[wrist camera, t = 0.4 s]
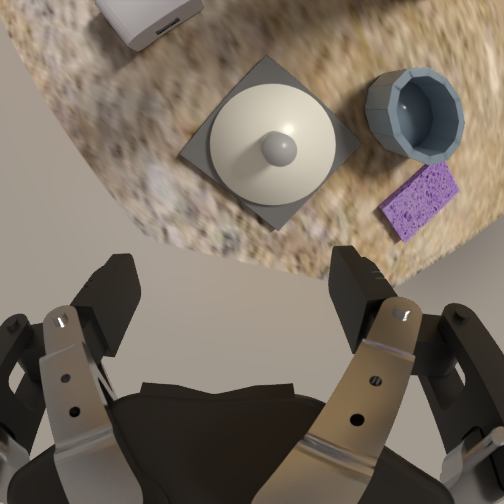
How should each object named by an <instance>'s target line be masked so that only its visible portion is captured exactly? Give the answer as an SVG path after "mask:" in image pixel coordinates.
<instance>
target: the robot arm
mask: <svg viewBox="0 0 504 504" xmlns="http://www.w3.org/2000/svg"><path fill="white" fill-rule="evenodd" d="M328 286H329V293H330V297H331V299H332V301H333V304H334V306H335V309H336V312H337V314H338V317H339V319H340V322H341V324H342V327H343V329H344V332H345V335H346V337H347V340H348V343H349V345H350V348H351V351H352V353H353V354H355V355H354V357H353V359H352V360H351V362H350V364H349V366H348V368H347V370H346V371H345V373H344V375H343V377H342V378H341V380H340V382H339V383H338V385H337V387H336V389H335V390H334V392H333V393H332V395H331V397H330V398H329V400H328V402H327V403H324V402H322V401H320V400H317V399H314V398H312V397H308V396H303V395H298V394H294V387H293V383H291V384H276V385H257V386H251V387H247V388H242V389H238V390H234V391H229V392H224V393H220V394H210V393H206V392H202V391H198V390H194V389H190V388H186V387H183V386H179V385H171V384H157V383H145V382H143V383H142V387H141V390H140V393H136V394H131V395H127V396H124V397H121V398H119V399H118V398H117V396H116V394H115V392H114V390H113V387H112V385H111V382H110V380H109V378H108V375H107V373H106V370H105V368H104V365H103V364H102V362H101V359H102V357H103V356H108V357H115V355H116V353H117V350H118V348H119V346H120V343H121V341H122V339H123V337H124V334H125V332H126V330H127V328H128V325H129V323H130V321H131V319H132V316H133V314H134V312H135V310H136V308H137V305H138V303H139V301H140V297H141V287H140V283H139V279H138V275H137V271H136V268H135V263H134V259H133V257H132V255H131V254H129V253H127V254H113V255H112V256H111V257H110V258H109V260H108V261H107V262H106V263H105V265H104V266H102V267H101V268H99V269H98V270H97V271H95V272H94V273H93V274H92V276H91V277H90V278H89V280H88V281H87V282H86V283H85V285H84V288H82V289H81V290H80V292H79V293H78V294H77V296H76V297H75V298H74V300H73V301H72V303H71V304H70V305H69V306H68V305H66V306H60V307H57V308H55V309H54V310H52V311H50V312H49V313H48V314H47V315H46V317H45V318H44V321H43V323H39V324H33V325H30V323H29V321H28V319H27V317H26V316H25V315H24V314H16V315H13V316H11V317H9V318H8V319H6V320H5V321H4V322H3V324H2V325H1V326H0V502H2V503H4V504H497V503H499V502H501V501H502V500H504V354H503V353H502V351H501V350H500V348H499V347H498V345H497V344H496V342H495V341H494V339H493V338H492V336H491V335H490V334H489V332H488V331H487V329H486V328H485V326H484V325H483V324H482V322H481V321H480V320H479V318H478V317H477V315H476V314H475V313H474V312H473V311H472V310H471V309H469V308H468V307H466V306H464V305H462V304H457V303H452V304H448V305H447V306H445V308H444V310H443V313H442V315H441V316H439V315H429V314H422V311H421V309H420V307H419V306H418V305H417V304H416V303H415V302H413V301H411V300H409V299H407V298H403V297H398V296H397V294H396V293H395V291H394V290H393V288H392V287H391V285H390V284H389V283H388V281H387V280H386V279H385V278H384V276H383V274H382V273H381V272H380V270H379V269H378V267H377V266H376V265H375V263H373V262H372V261H370V260H369V259H367V258H366V257H361V256H360V255H359V254H358V252H357V251H356V249H355V248H354V247H353V246H352V245H350V246H334V247H333V249H332V256H331V265H330V273H329V282H328ZM16 362H18V363H19V365H20V366H21V368H22V369H23V370H24V372H25V374H24V376H23V378H22V380H21V382H20V384H19V386H18V388H17V390H16V392H15V394H14V393H13V392H12V390H11V389H10V387H9V376H10V374H11V372H12V370H13V368H14V366H15V364H16ZM457 362H459V365H460V366H461V368H462V370H463V372H464V374H465V386H464V384H463V383H462V380H461V379H460V376H459V374H458V372H457V370H456V369H455V365H456V363H457ZM410 375H418V377H419V380H420V382H421V385H422V387H423V390H424V392H425V395H426V397H427V400H428V402H429V405H430V408H431V410H432V413H433V415H434V418H435V421H436V424H437V427H438V430H439V432H440V435H441V438H442V441H443V444H444V448H445V451H446V454H447V456H446V457H445V459H444V461H443V464H442V473H441V475H440V480H441V482H442V483H441V482H440V481H438V480H437V479H435V478H433V477H432V476H430V475H428V474H427V473H425V472H424V471H422V470H421V469H419V468H417V467H416V466H414V465H413V464H411V463H410V462H408V461H407V460H405V459H404V458H402V457H401V456H399V455H398V454H396V453H395V452H394V451H392V450H391V449H389V448H388V447H386V446H385V443H386V440H387V438H388V435H389V433H390V431H391V428H392V426H393V423H394V421H395V418H396V416H397V413H398V410H399V408H400V405H401V402H402V399H403V396H404V393H405V390H406V387H407V384H408V381H409V378H410ZM45 408H47V413H48V417H49V422H50V426H51V430H52V434H53V438H54V442H55V444H54V445H52V446H51V447H49V448H48V449H47V450H45V451H44V452H42V453H41V454H40V455H38V456H37V457H36V458H34V459H32V460H31V461H30V458H29V456H30V452H31V449H32V446H33V443H34V440H35V436H36V434H37V431H38V428H39V425H40V422H41V419H42V416H43V414H44V411H45Z"/></svg>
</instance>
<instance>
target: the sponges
mask: <svg viewBox="0 0 504 504" xmlns="http://www.w3.org/2000/svg"><path fill="white" fill-rule="evenodd" d="M459 191H460V190H459V188H458V186H457V184H456V182H455V180H454V178H453V176H452V175H451V173H450V170H449V168H448V167H447V165H446V162H445V161H443V162H440V163H436V164H433V165H427V164H425V165H424V166H423V167H422V168H421V169H420V170H418V172H416V173H415V174H414V175H413V176H412V177H411V178H410V179H408V180H407V181H406V182H405V183H404V184H403V185H402V186H401V187H400V188H399V189H398V190H396V191H395V192H394V193H393V194H391V195H390V196H389V197H388V198H387V199H386V200H384V201H383V202H382V203H381V204H380V205H379V208H380V209H381V211H382V212H383V214H384V215H385V216H386V218H387V219H388V221H389V223H390V224H391V225H392V227H393V228H394V230H395V231H396V233H397V235H398V236H399V237H400V239H401V240H402V241H403V242H404V243H406V242H407V241H408V240H409V239H410V238H411V237H412V236H413V235H415V234H416V233H417V231H419V228H420V227H422V226H424V225H425V224H426V223H427V222H429V221H430V219H431V218H433V217H434V216H435V215H436V214H437V213H438V212H439V211H440V210H441V209H442V208H443V207H444V206H445V205H446V204H447V203H448V202H449V201H450V200H451V199H452V198H454V196H455V195H457V194H458V193H459Z"/></svg>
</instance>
